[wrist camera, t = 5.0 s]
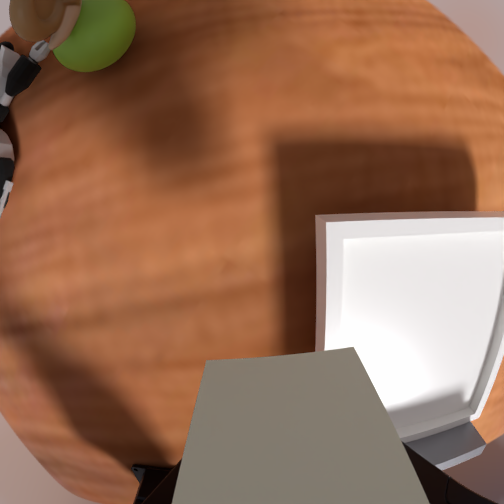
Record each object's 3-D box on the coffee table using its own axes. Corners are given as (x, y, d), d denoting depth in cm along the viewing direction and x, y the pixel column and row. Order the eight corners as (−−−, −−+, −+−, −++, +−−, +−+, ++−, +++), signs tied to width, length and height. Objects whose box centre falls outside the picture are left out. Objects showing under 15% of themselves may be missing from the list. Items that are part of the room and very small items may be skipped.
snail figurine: (157, -1, 15) (86, -109, 3) (138, 78, 16) (22, -4, 5) (90, 9, 15) (-2, -65, 3) (71, 84, 16) (-56, 40, 5)
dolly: (450, 395, 22) (489, 449, 14) (306, 424, 22) (319, 501, 15) (484, 207, 18) (561, 226, 10) (307, 210, 18) (344, 234, 11)
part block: (343, 440, 10) (378, 570, 4) (227, 451, 10) (214, 587, 4) (353, 346, 9) (431, 509, 3) (206, 360, 9) (163, 539, 3)
